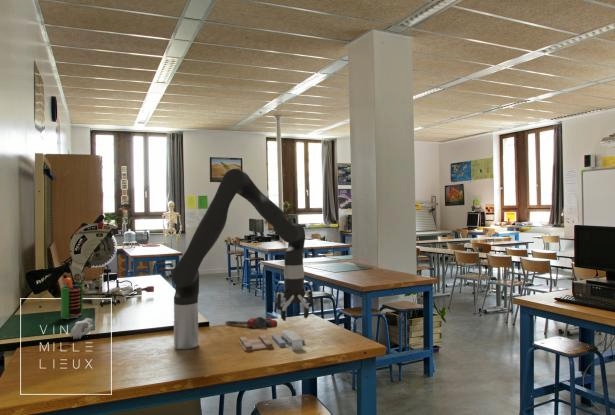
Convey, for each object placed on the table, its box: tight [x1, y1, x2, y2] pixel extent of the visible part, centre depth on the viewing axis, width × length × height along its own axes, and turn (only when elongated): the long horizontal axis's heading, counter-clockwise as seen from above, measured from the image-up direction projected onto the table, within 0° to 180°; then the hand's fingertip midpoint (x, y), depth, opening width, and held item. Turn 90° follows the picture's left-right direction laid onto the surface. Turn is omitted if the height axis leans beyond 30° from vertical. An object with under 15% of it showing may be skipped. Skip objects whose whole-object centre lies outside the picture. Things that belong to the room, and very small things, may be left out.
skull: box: [69, 317, 94, 340], centre depth 194 cm, size 8×9×12 cm
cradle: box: [238, 334, 274, 353], centre depth 175 cm, size 13×11×3 cm
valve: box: [225, 316, 278, 330], centre depth 208 cm, size 6×26×15 cm
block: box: [280, 328, 303, 352], centre depth 174 cm, size 14×4×4 cm, turn 20°
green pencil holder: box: [60, 277, 84, 318], centre depth 227 cm, size 10×9×20 cm
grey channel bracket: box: [270, 332, 306, 348], centre depth 179 cm, size 12×11×3 cm
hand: (294, 319), depth 171 cm, fingers open, 8 cm apart
